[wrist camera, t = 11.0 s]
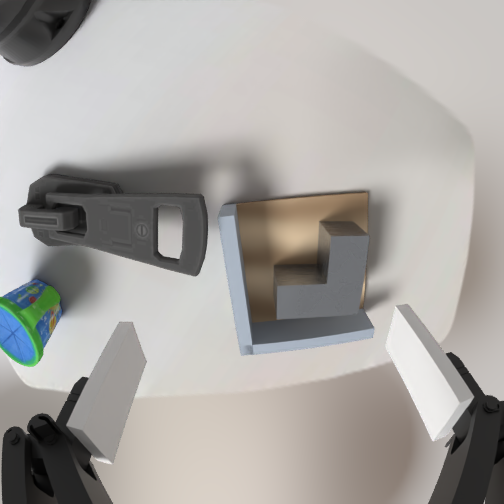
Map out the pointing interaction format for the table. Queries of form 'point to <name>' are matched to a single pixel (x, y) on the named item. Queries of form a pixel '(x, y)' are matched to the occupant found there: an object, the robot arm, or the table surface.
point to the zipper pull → (114, 220)
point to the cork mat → (288, 238)
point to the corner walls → (278, 331)
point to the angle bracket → (324, 275)
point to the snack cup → (28, 321)
